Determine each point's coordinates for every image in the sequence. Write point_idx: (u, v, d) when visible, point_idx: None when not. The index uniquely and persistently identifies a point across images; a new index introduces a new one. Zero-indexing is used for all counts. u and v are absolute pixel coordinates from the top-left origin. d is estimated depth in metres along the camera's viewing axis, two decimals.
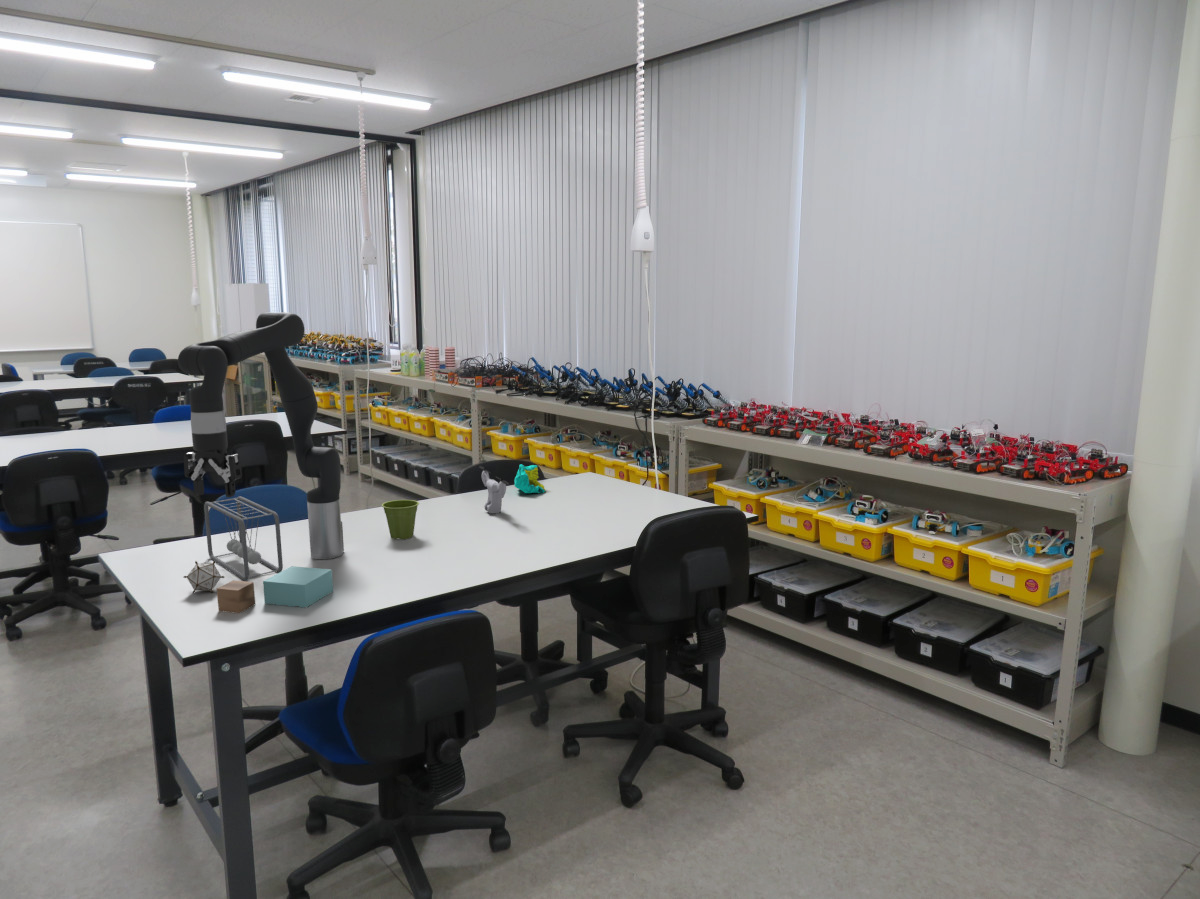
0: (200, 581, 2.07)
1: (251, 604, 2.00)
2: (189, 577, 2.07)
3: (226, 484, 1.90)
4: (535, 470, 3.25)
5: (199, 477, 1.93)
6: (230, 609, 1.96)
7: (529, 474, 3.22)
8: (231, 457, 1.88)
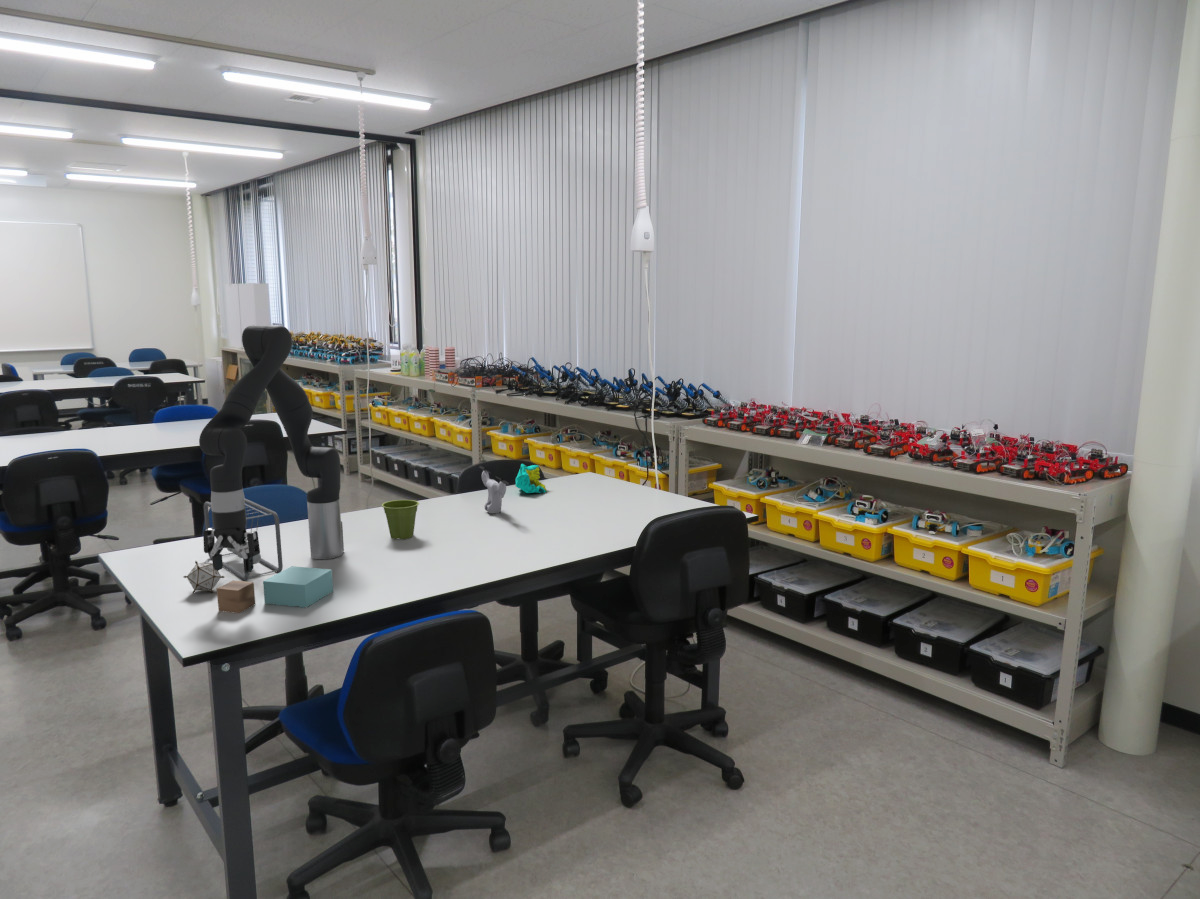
0: (200, 581, 2.07)
1: (251, 604, 2.00)
2: (189, 577, 2.07)
3: (244, 560, 1.95)
4: (536, 470, 3.25)
5: (218, 552, 1.98)
6: (230, 609, 1.96)
7: (530, 474, 3.22)
8: (250, 535, 1.93)
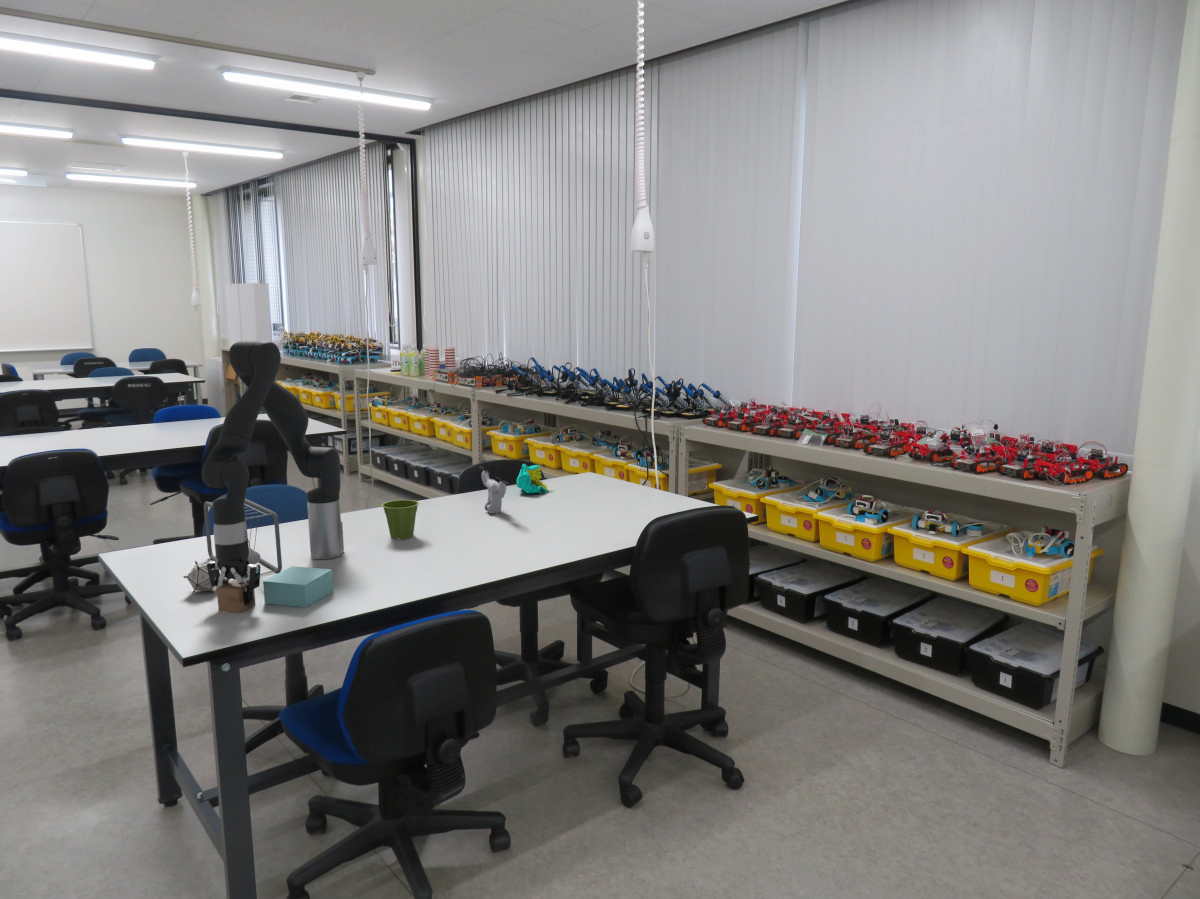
0: (200, 581, 2.07)
1: (251, 604, 2.00)
2: (189, 577, 2.07)
3: (244, 593, 1.97)
4: (538, 470, 3.25)
5: None
6: (230, 609, 1.96)
7: (532, 474, 3.22)
8: (253, 569, 1.95)
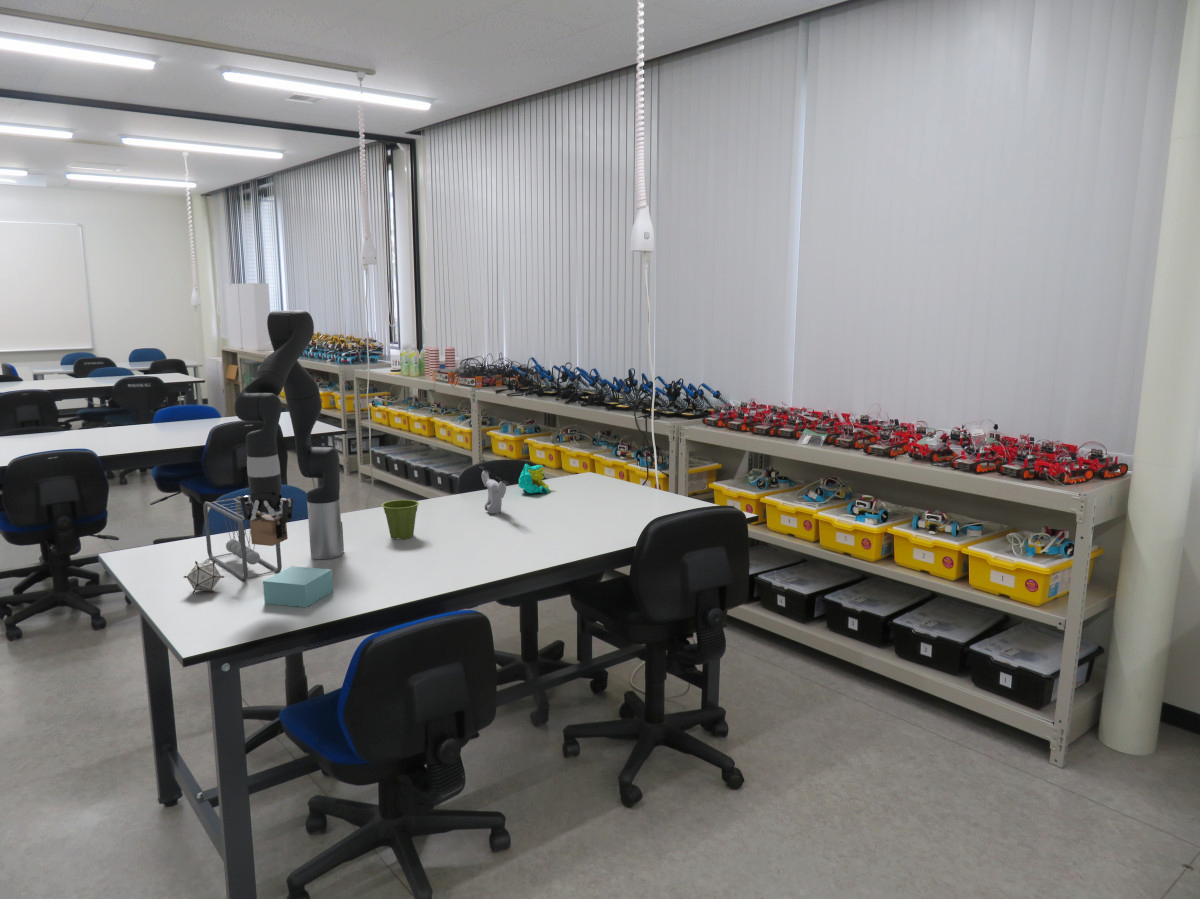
0: (200, 581, 2.07)
1: (283, 538, 2.02)
2: (189, 577, 2.07)
3: (277, 526, 1.98)
4: (540, 470, 3.25)
5: None
6: (263, 542, 1.98)
7: (534, 474, 3.22)
8: (285, 502, 1.96)
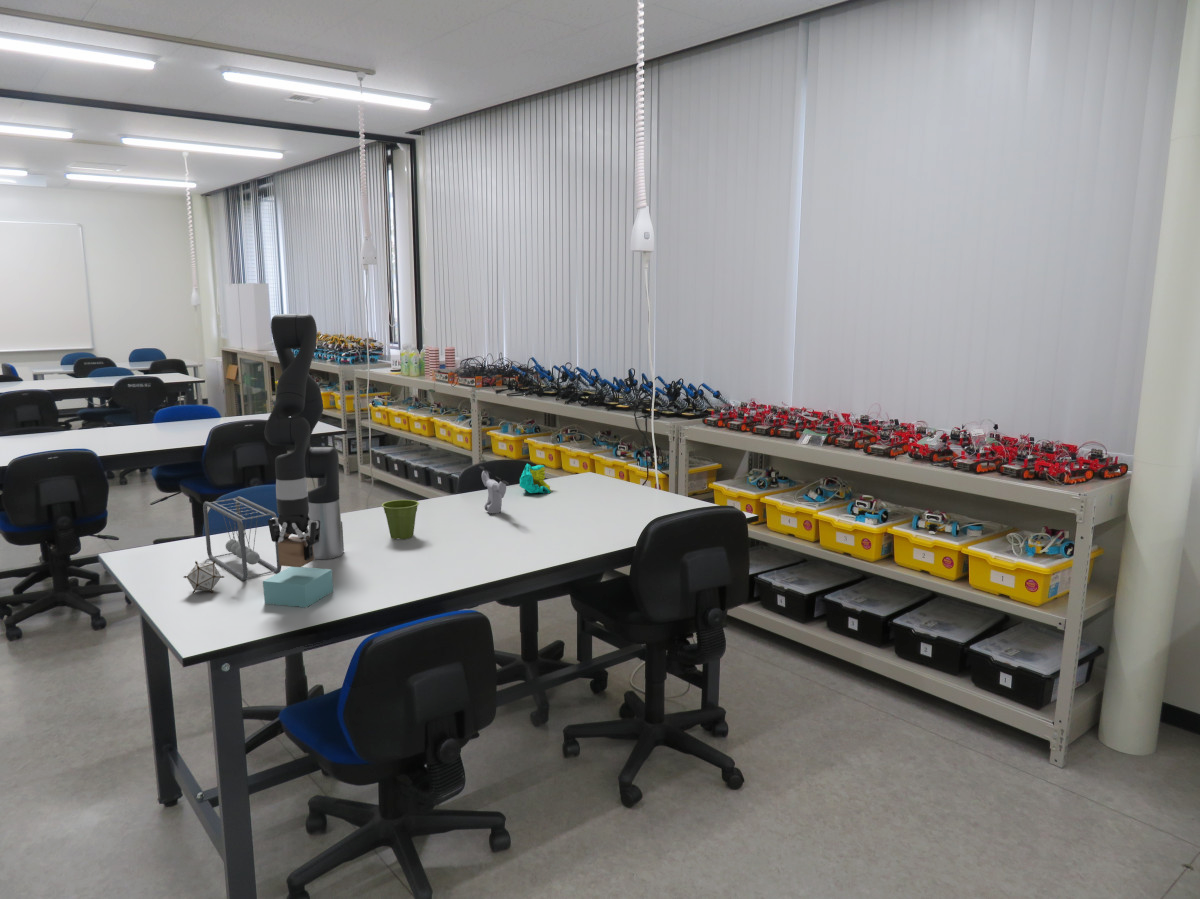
0: (200, 581, 2.07)
1: (310, 559, 2.05)
2: (189, 577, 2.07)
3: (305, 548, 2.02)
4: (542, 470, 3.25)
5: None
6: (291, 563, 2.01)
7: (535, 474, 3.22)
8: (314, 524, 2.00)
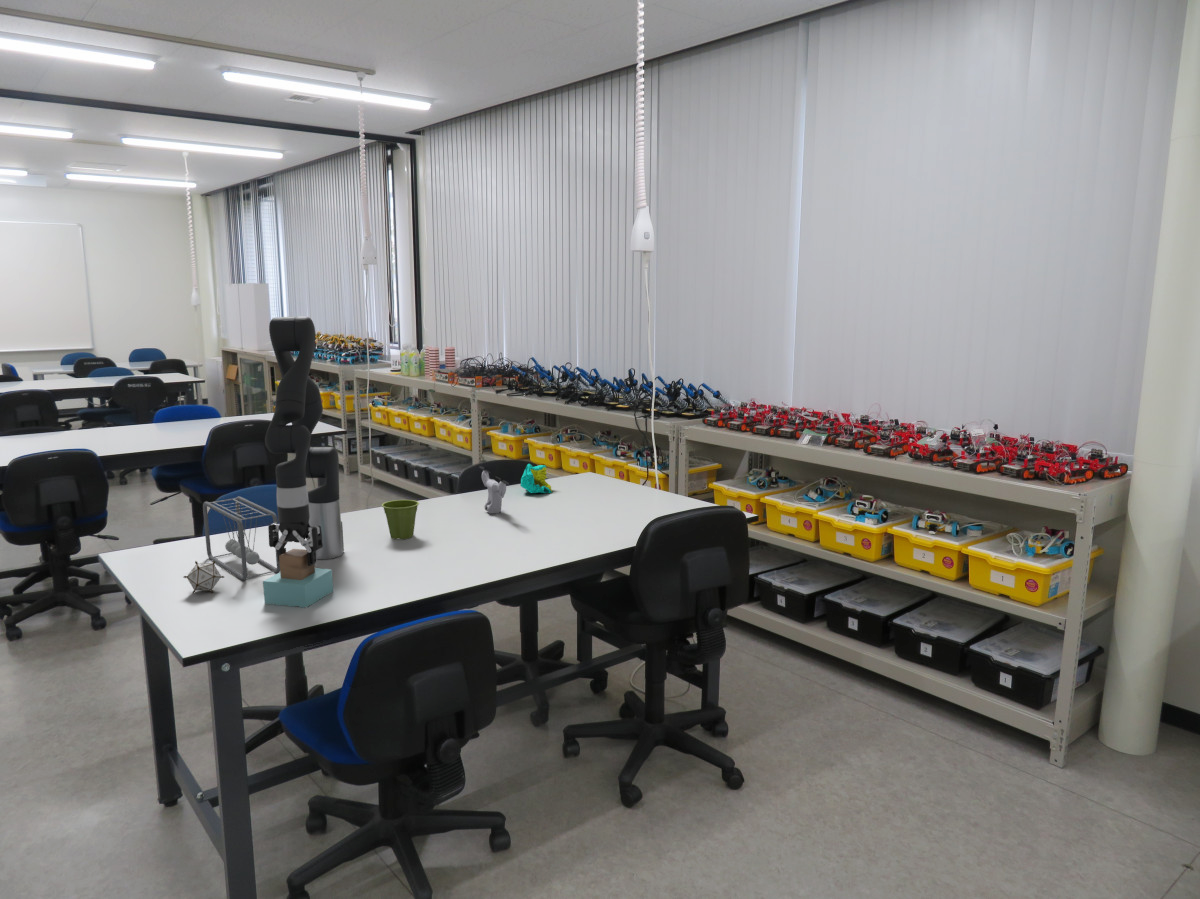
0: (200, 581, 2.07)
1: (311, 571, 2.06)
2: (189, 577, 2.07)
3: (308, 554, 2.02)
4: (543, 470, 3.25)
5: (282, 546, 2.05)
6: (292, 576, 2.02)
7: (536, 474, 3.22)
8: (314, 529, 2.00)
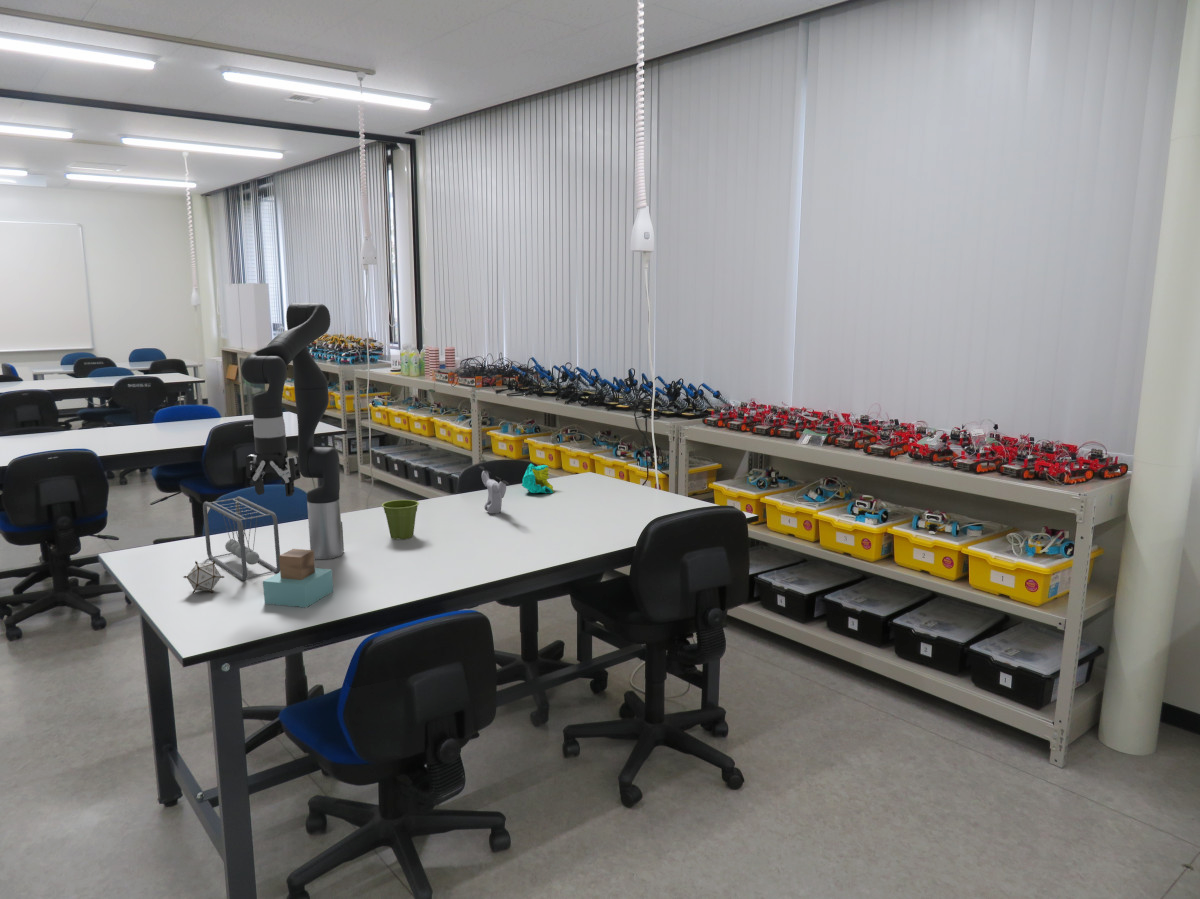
0: (200, 581, 2.07)
1: (311, 571, 2.06)
2: (189, 577, 2.07)
3: (286, 484, 2.05)
4: (545, 470, 3.25)
5: (260, 477, 2.07)
6: (292, 576, 2.02)
7: (538, 474, 3.22)
8: (291, 459, 2.03)
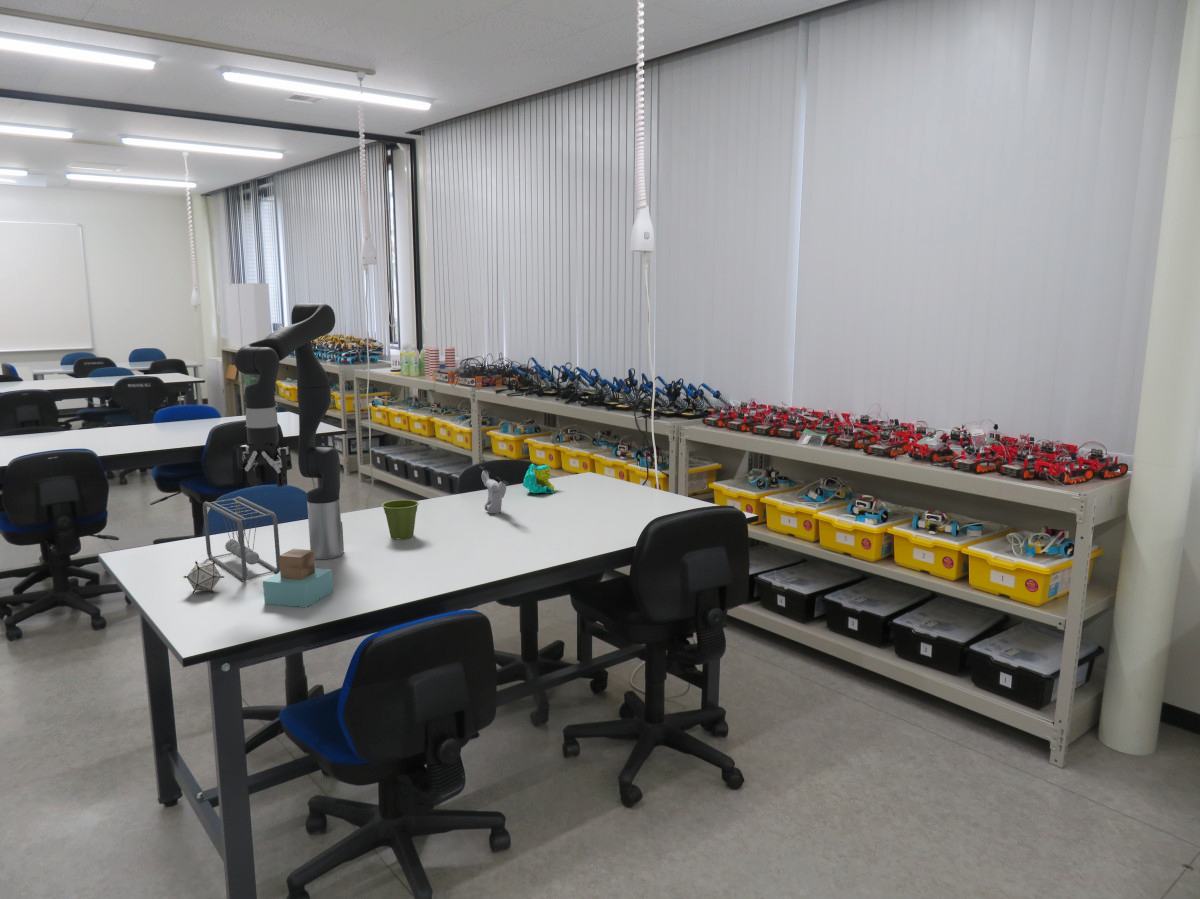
0: (200, 581, 2.07)
1: (311, 571, 2.06)
2: (189, 577, 2.07)
3: (278, 474, 2.06)
4: (547, 470, 3.25)
5: (252, 468, 2.09)
6: (292, 576, 2.02)
7: (540, 474, 3.22)
8: (283, 449, 2.04)
